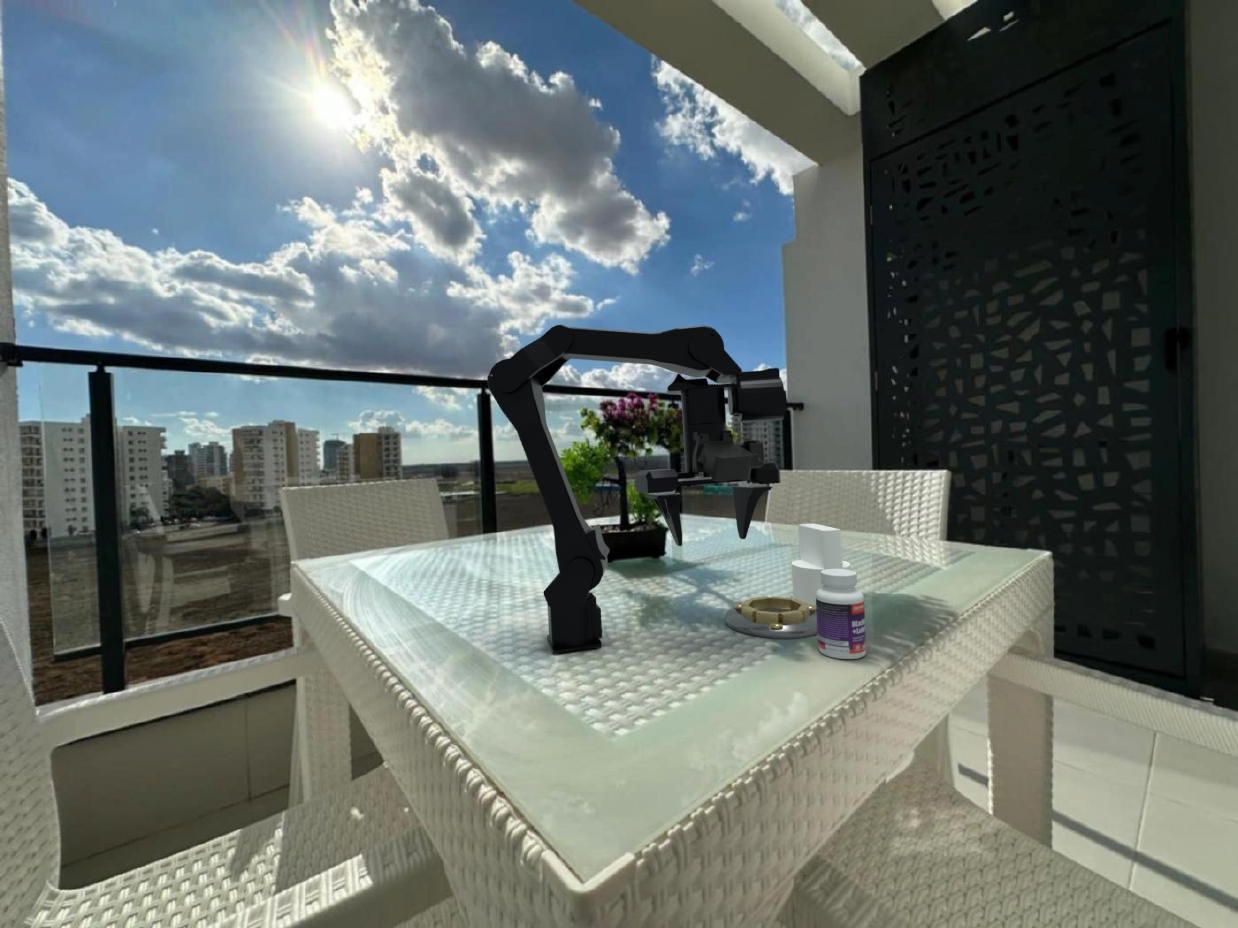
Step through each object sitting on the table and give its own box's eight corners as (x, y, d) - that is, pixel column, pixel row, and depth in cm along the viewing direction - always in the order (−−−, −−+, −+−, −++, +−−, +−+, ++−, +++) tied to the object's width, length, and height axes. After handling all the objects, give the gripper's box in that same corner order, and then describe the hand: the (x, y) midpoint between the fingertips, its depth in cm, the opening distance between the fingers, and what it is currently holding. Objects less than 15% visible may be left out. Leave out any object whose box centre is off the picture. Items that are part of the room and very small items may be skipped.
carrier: (757, 644, 66) (756, 625, 66) (710, 615, 80) (709, 598, 80) (849, 630, 70) (849, 611, 70) (790, 603, 84) (789, 588, 84)
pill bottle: (863, 663, 59) (859, 578, 59) (814, 656, 62) (810, 574, 62) (869, 647, 64) (865, 568, 64) (823, 641, 67) (819, 565, 66)
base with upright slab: (784, 595, 89) (780, 525, 89) (833, 591, 90) (830, 522, 90) (808, 609, 80) (805, 532, 80) (863, 604, 81) (860, 528, 81)
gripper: (659, 422, 59) (667, 560, 59) (802, 416, 64) (809, 543, 64) (630, 429, 70) (637, 546, 70) (754, 424, 75) (761, 532, 75)
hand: (711, 542), depth 69 cm, fingers open, 9 cm apart
